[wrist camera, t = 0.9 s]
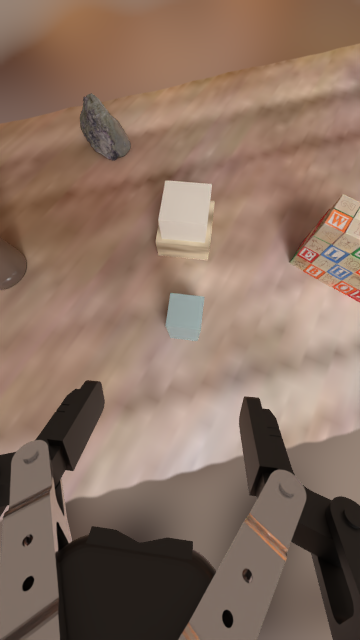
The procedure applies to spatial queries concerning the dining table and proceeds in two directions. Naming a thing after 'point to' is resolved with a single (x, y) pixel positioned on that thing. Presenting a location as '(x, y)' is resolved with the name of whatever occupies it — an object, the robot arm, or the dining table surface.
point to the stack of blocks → (334, 248)
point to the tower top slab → (185, 211)
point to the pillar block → (184, 316)
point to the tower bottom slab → (186, 243)
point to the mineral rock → (103, 129)
